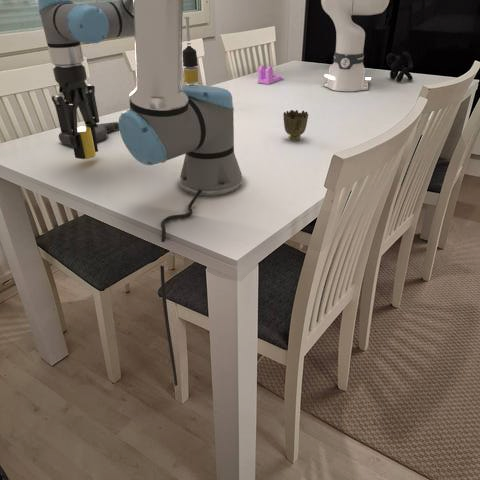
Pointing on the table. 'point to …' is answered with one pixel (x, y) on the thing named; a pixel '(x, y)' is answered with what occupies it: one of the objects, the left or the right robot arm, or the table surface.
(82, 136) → the tin
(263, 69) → the bracket
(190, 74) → the long nozzle bottle
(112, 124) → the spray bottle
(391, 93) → the table surface
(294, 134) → the cup
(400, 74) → the squiggle
